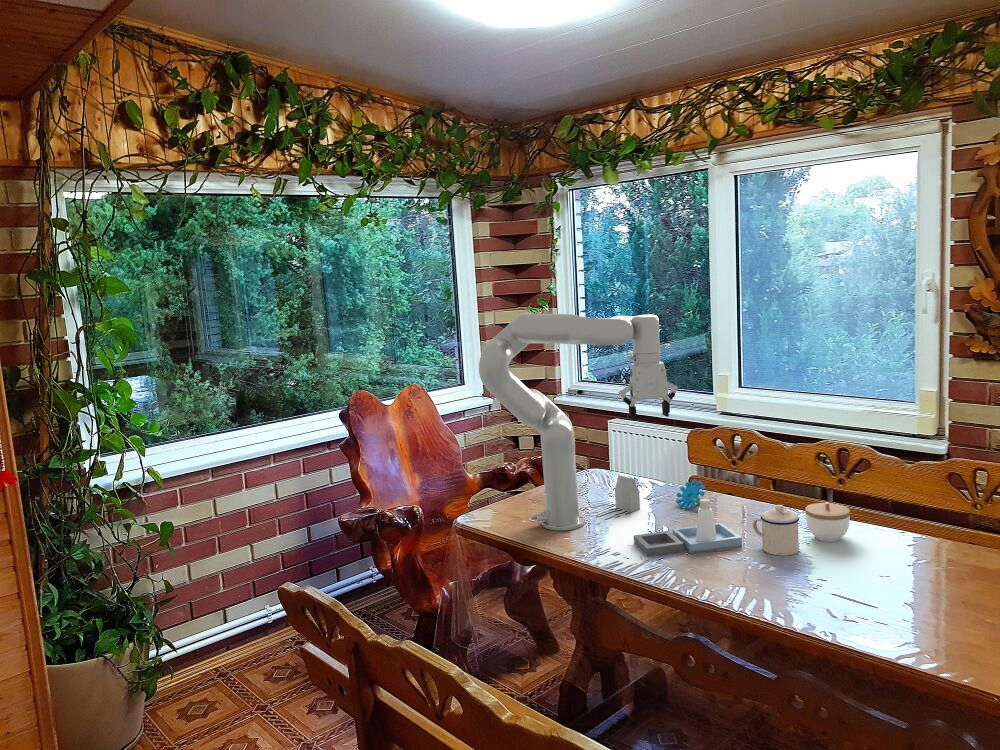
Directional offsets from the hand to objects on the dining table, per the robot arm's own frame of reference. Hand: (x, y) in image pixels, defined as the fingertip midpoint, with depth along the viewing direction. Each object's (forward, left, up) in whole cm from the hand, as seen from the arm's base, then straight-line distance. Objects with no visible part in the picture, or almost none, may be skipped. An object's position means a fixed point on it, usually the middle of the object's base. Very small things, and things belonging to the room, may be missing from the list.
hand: (649, 417), depth 217 cm
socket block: (-7, -21, -30) cm, 38 cm away
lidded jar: (+36, -30, -31) cm, 56 cm away
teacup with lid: (+20, -32, -31) cm, 49 cm away
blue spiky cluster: (+14, +6, -31) cm, 34 cm away
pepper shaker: (+6, -22, -30) cm, 38 cm away
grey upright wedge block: (-4, +12, -31) cm, 33 cm away
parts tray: (+6, -22, -30) cm, 38 cm away
